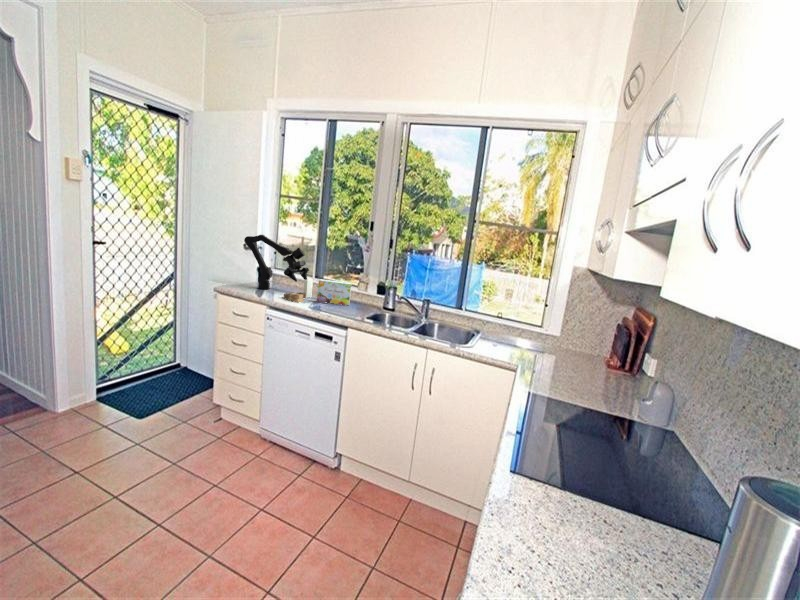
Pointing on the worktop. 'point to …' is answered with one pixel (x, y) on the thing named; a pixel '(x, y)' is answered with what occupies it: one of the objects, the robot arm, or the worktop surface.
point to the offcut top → (296, 296)
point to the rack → (290, 293)
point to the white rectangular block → (308, 288)
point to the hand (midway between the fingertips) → (301, 281)
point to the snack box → (334, 292)
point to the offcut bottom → (296, 300)
